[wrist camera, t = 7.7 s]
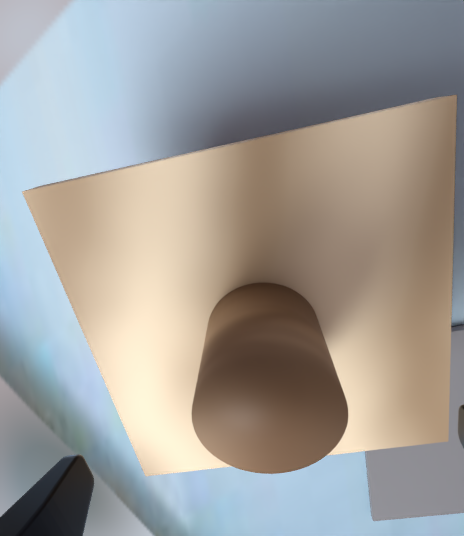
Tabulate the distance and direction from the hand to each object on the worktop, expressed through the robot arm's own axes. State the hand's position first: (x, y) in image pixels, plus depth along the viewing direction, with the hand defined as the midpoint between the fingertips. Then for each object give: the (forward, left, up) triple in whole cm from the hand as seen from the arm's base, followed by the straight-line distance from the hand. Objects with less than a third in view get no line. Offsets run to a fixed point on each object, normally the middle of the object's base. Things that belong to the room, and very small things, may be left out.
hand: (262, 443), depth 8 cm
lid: (0, 0, -6) cm, 6 cm away
